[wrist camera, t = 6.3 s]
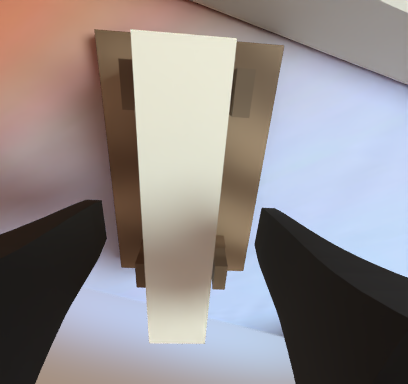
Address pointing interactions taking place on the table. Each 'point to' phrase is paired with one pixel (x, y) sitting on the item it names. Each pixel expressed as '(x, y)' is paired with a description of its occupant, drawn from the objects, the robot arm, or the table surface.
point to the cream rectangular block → (180, 172)
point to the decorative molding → (335, 28)
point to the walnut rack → (233, 160)
